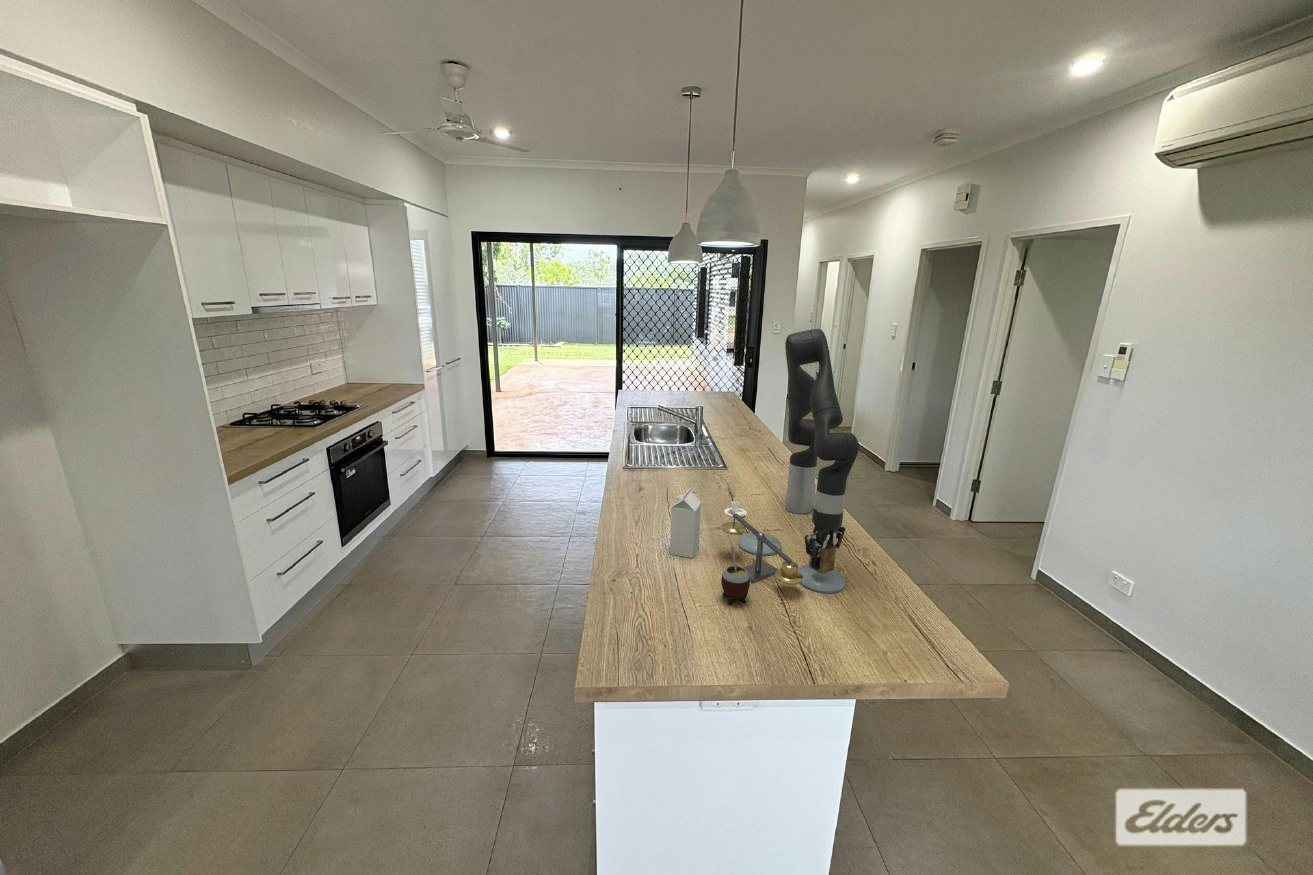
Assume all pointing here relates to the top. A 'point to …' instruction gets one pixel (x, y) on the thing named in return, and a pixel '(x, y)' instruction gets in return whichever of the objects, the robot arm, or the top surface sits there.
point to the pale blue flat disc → (750, 544)
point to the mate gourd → (735, 581)
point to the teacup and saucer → (735, 509)
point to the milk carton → (685, 525)
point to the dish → (822, 580)
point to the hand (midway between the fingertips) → (821, 565)
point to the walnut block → (826, 559)
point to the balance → (761, 568)
